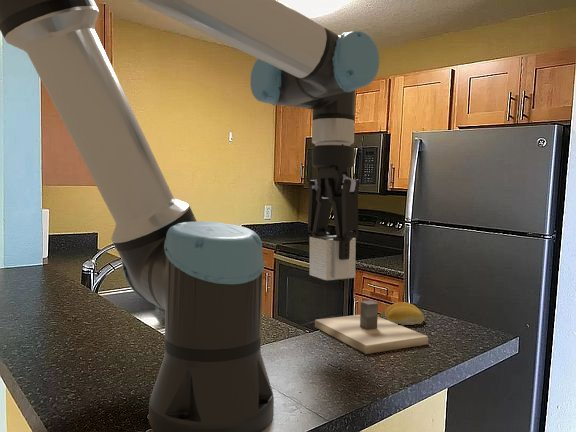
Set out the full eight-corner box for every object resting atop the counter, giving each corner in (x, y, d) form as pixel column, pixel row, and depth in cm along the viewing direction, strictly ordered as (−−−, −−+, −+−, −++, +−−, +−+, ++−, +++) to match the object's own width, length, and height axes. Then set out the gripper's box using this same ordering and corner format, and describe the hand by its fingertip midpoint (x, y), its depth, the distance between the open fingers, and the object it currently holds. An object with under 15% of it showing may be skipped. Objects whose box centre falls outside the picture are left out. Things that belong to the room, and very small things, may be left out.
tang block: (427, 344, 88) (429, 309, 88) (366, 354, 82) (367, 317, 82) (370, 320, 105) (370, 291, 104) (314, 326, 98) (315, 295, 98)
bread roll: (388, 326, 101) (389, 308, 101) (383, 315, 110) (384, 298, 110) (428, 328, 100) (429, 309, 100) (419, 317, 109) (420, 300, 109)
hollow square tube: (355, 277, 84) (355, 238, 84) (326, 280, 82) (326, 240, 81) (337, 272, 90) (337, 235, 89) (309, 274, 87) (309, 236, 87)
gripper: (383, 142, 77) (379, 282, 79) (324, 150, 94) (321, 265, 96) (344, 139, 74) (341, 285, 75) (290, 148, 91) (288, 267, 92)
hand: (330, 274), depth 86 cm, fingers closed on hollow square tube, 6 cm apart
